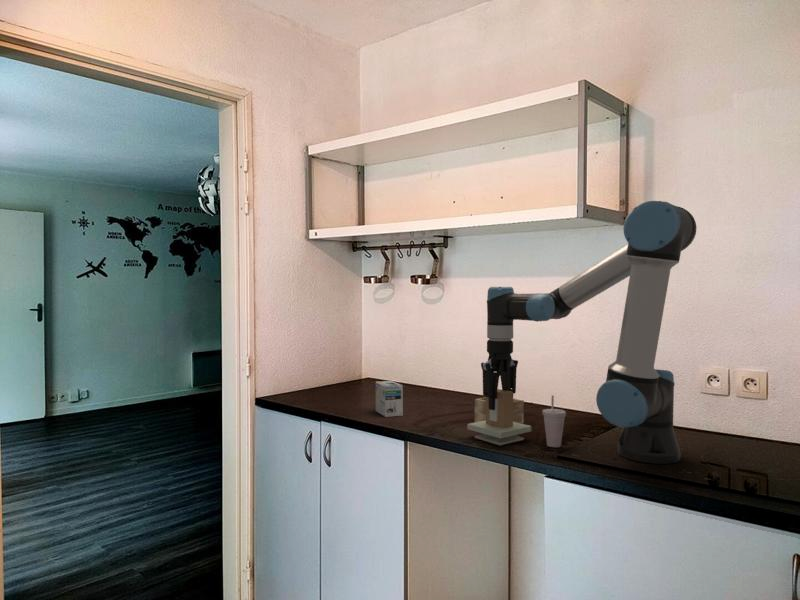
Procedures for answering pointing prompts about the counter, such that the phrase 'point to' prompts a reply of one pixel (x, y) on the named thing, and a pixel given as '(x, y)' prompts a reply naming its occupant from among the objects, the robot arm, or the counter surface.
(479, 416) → the box
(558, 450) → the counter surface
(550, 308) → the robot arm
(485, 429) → the lid
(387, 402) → the light bulb box
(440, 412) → the counter surface
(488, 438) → the mat
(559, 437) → the smoothie
